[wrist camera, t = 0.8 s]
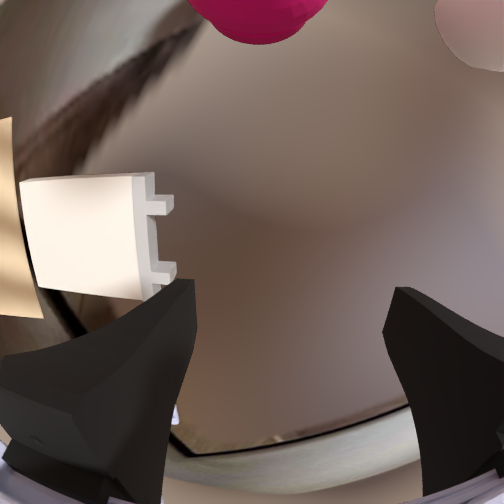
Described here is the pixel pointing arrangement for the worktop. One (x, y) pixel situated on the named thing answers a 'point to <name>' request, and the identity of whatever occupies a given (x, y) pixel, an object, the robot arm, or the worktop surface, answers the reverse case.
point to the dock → (13, 240)
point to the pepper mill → (258, 18)
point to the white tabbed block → (97, 233)
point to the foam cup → (473, 31)
